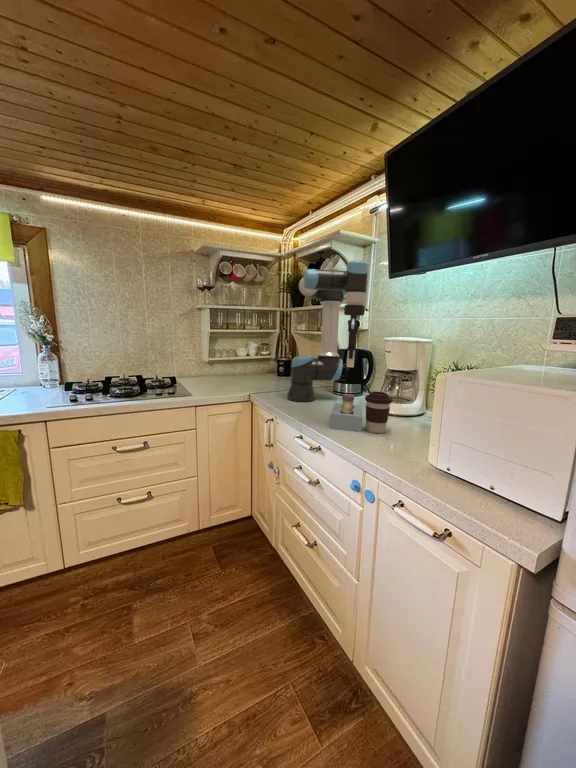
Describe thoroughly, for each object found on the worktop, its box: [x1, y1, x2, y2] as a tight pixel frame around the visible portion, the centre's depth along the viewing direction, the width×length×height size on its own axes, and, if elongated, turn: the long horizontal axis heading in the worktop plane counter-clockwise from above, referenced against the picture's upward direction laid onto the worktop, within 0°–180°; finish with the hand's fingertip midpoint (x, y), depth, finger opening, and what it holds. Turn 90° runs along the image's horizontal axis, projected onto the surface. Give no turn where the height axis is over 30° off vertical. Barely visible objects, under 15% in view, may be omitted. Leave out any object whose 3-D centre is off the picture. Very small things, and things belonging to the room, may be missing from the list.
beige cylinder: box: [341, 395, 355, 414], centre depth 127 cm, size 5×5×9 cm
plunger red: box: [342, 394, 355, 409], centre depth 136 cm, size 5×5×9 cm
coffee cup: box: [364, 391, 393, 434], centre depth 124 cm, size 10×10×15 cm
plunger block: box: [329, 402, 363, 433], centre depth 132 cm, size 18×12×6 cm, turn 167°
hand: (350, 366), depth 124 cm, fingers closed
